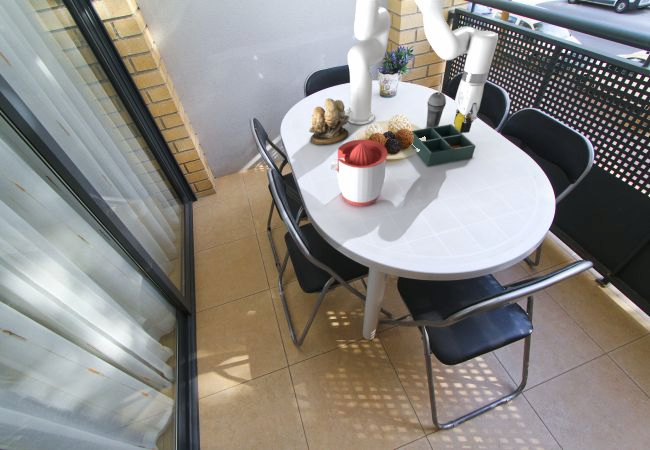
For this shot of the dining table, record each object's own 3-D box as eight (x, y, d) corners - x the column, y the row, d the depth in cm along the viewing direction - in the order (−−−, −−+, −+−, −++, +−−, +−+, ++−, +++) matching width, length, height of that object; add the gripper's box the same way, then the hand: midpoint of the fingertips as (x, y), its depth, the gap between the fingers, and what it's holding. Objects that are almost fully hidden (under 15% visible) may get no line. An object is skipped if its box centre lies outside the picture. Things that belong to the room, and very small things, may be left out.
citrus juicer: (332, 182, 114) (330, 131, 100) (381, 181, 113) (385, 129, 98) (332, 211, 103) (329, 159, 89) (386, 210, 101) (391, 156, 87)
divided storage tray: (428, 166, 117) (430, 154, 113) (408, 142, 130) (410, 131, 126) (471, 158, 119) (475, 145, 115) (448, 135, 132) (451, 123, 128)
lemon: (460, 136, 113) (465, 115, 107) (449, 130, 116) (453, 109, 111) (471, 132, 114) (477, 111, 109) (460, 126, 118) (465, 105, 112)
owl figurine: (342, 126, 143) (341, 88, 131) (355, 137, 135) (355, 98, 123) (306, 136, 138) (301, 98, 126) (317, 149, 131) (313, 109, 119)
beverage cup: (439, 124, 138) (448, 77, 124) (441, 133, 133) (452, 84, 119) (422, 125, 139) (429, 78, 125) (424, 133, 134) (432, 85, 120)
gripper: (454, 68, 108) (443, 118, 120) (473, 87, 95) (459, 141, 108) (476, 66, 108) (463, 116, 120) (498, 85, 95) (481, 139, 108)
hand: (461, 127), depth 114 cm, fingers closed on lemon, 5 cm apart
